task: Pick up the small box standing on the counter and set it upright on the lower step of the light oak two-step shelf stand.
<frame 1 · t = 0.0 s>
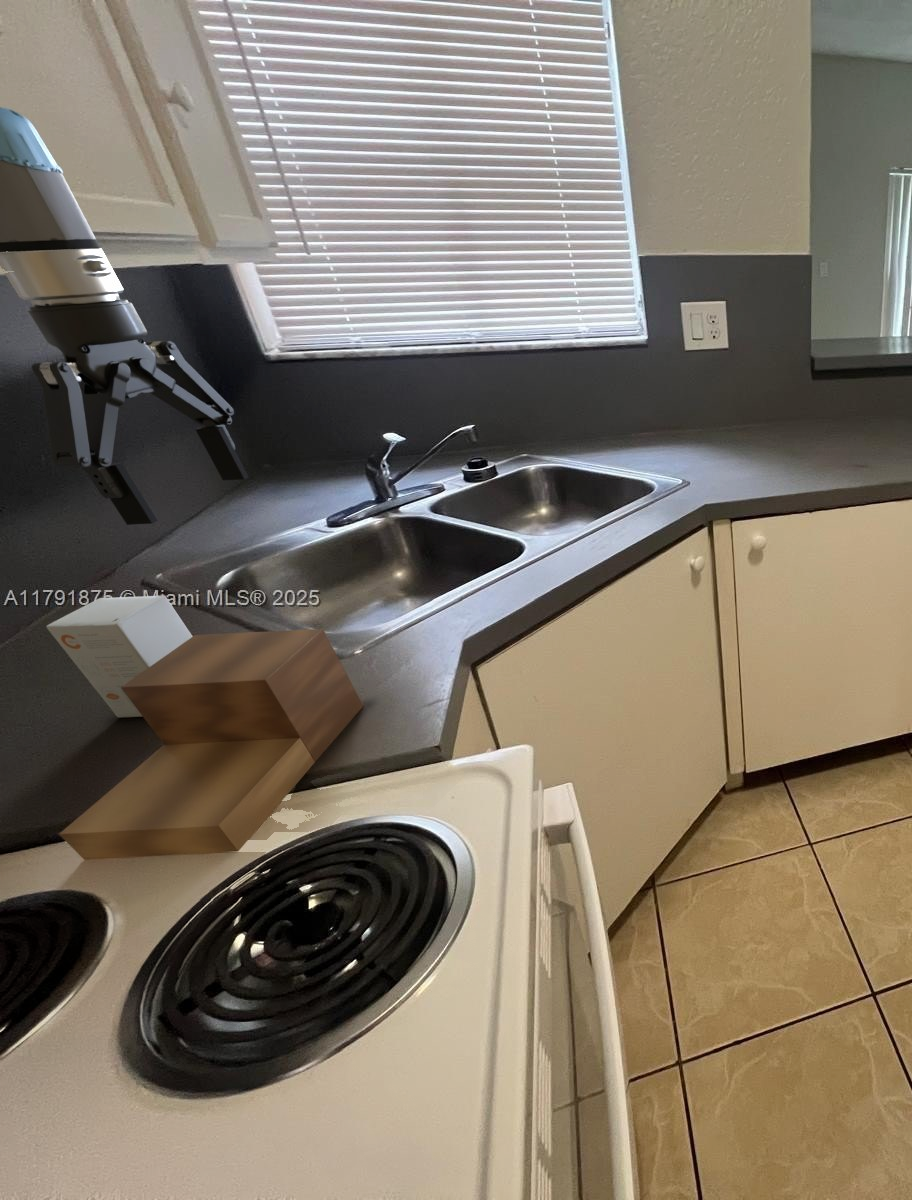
hand: (193, 499, 74), 22 cm above the worktop, tool pointing down, fingers open, 13 cm apart
shelf stand: (242, 772, 65), on the worktop
small box: (173, 701, 76), on the worktop
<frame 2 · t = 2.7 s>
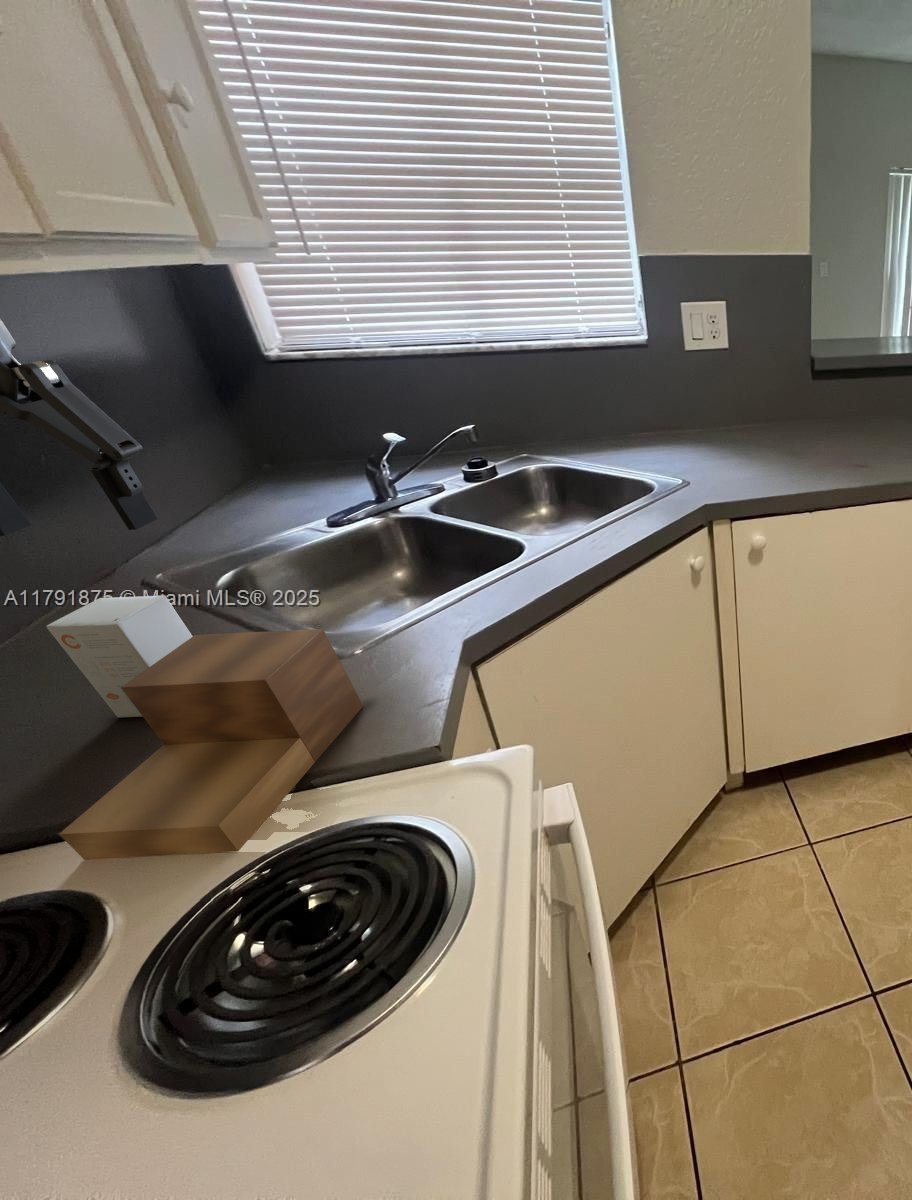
hand: (79, 527, 66), 22 cm above the worktop, tool pointing down, fingers open, 13 cm apart
nothing on the worktop moved.
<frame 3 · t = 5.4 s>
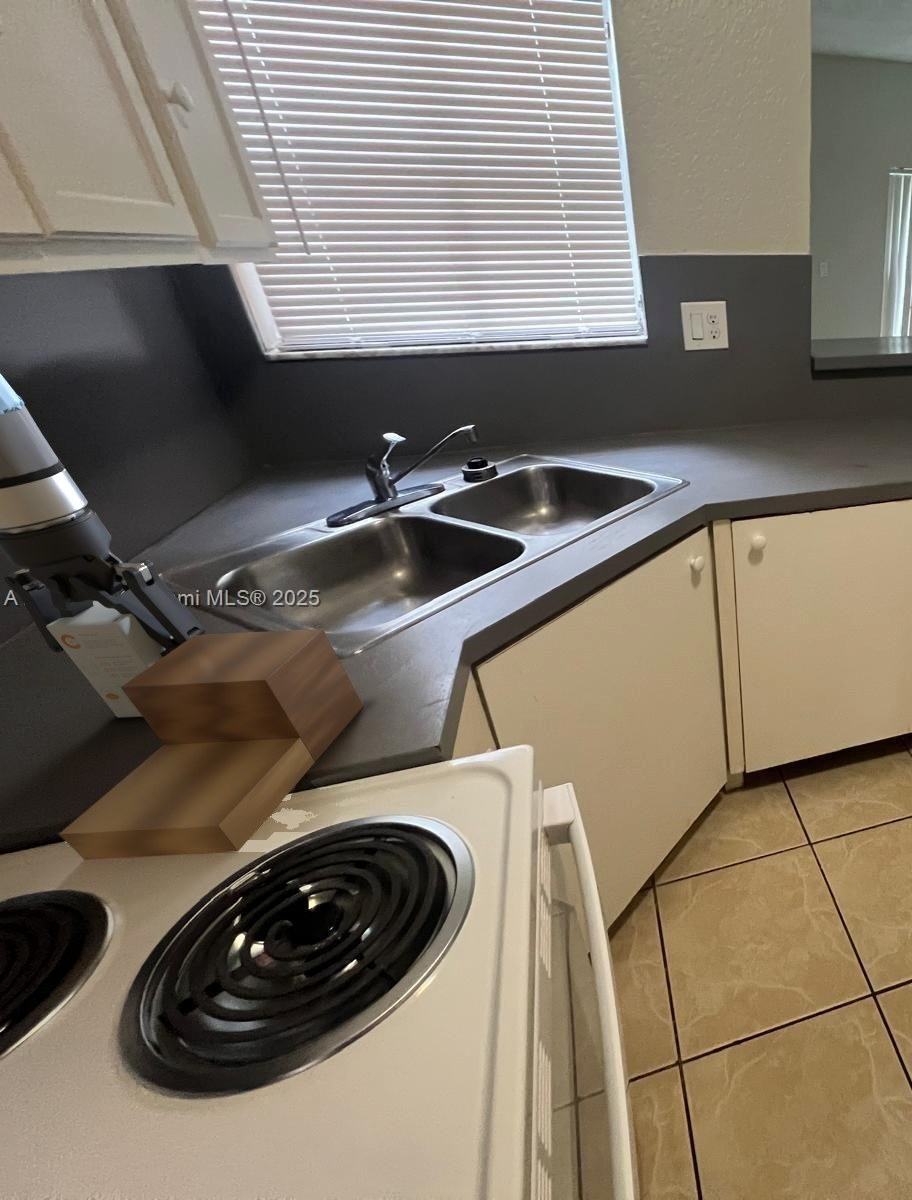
hand: (166, 692, 76), 1 cm above the worktop, tool pointing down, fingers closed on small box, 8 cm apart
small box: (173, 701, 76), on the worktop, touching gripper
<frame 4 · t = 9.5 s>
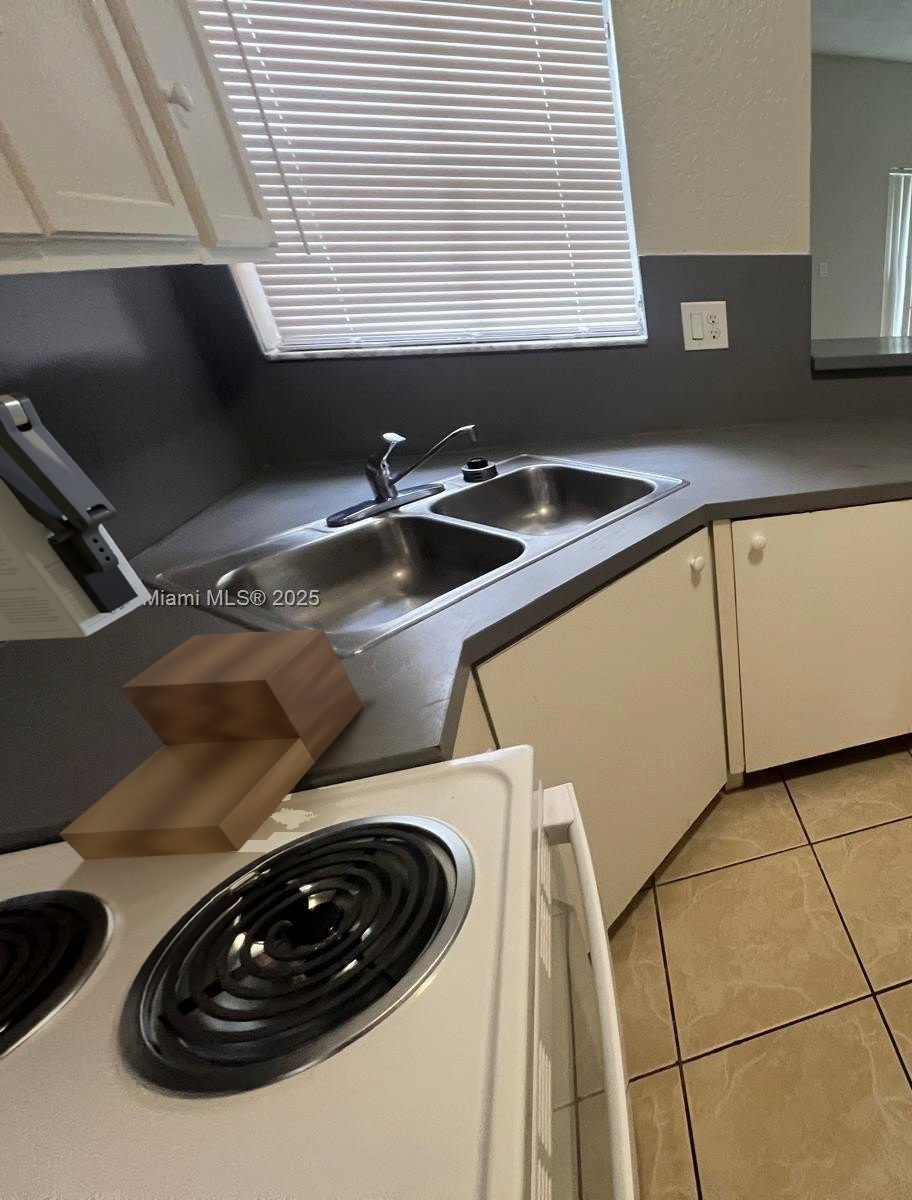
hand: (66, 607, 53), 22 cm above the worktop, tool pointing down, fingers closed on small box, 8 cm apart
small box: (78, 621, 53), point 20 cm above the worktop, touching gripper
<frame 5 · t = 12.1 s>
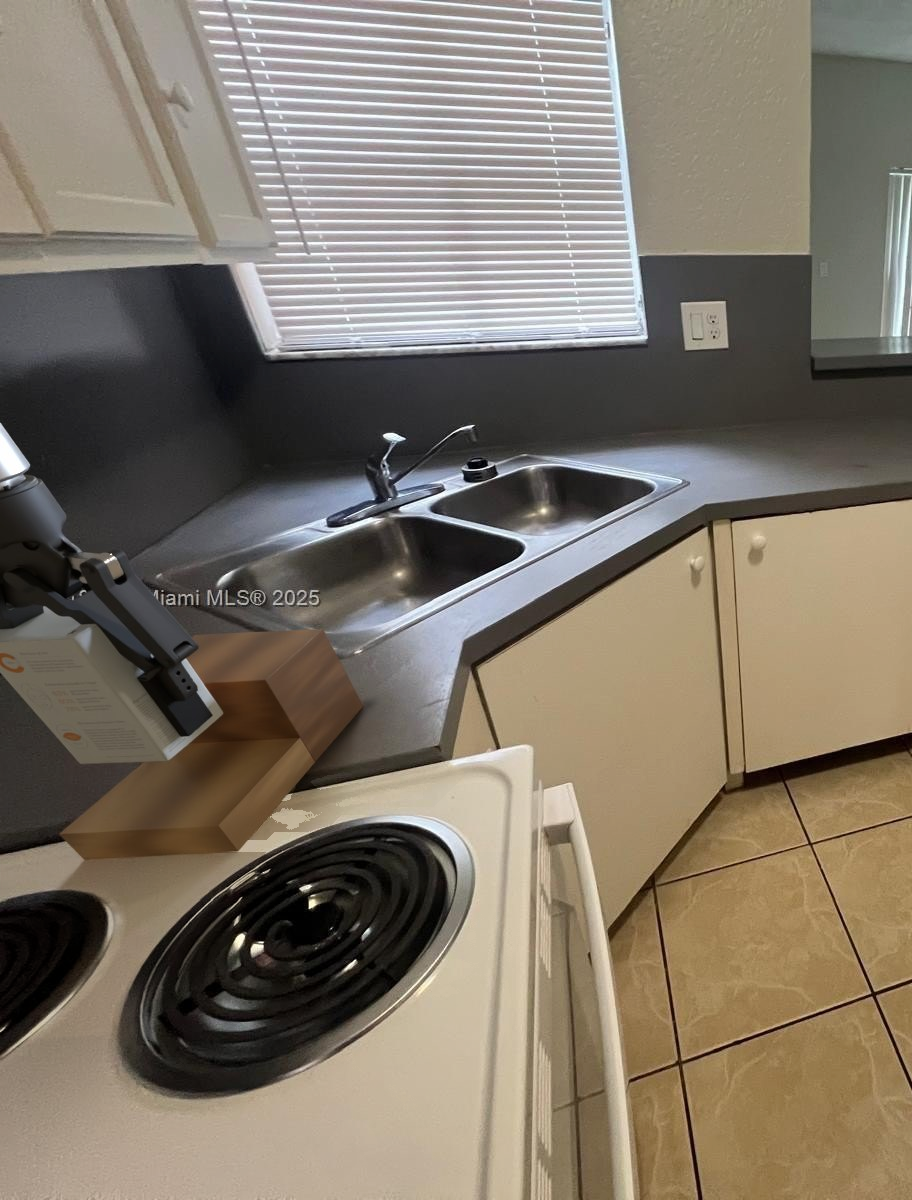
hand: (147, 728, 56), 10 cm above the worktop, tool pointing down, fingers closed on small box, 8 cm apart
small box: (157, 740, 57), point 9 cm above the worktop, touching gripper
when the fingers open (5 cm above the worktop, at t = 13.9 s): small box stays where it is, resting on shelf stand.
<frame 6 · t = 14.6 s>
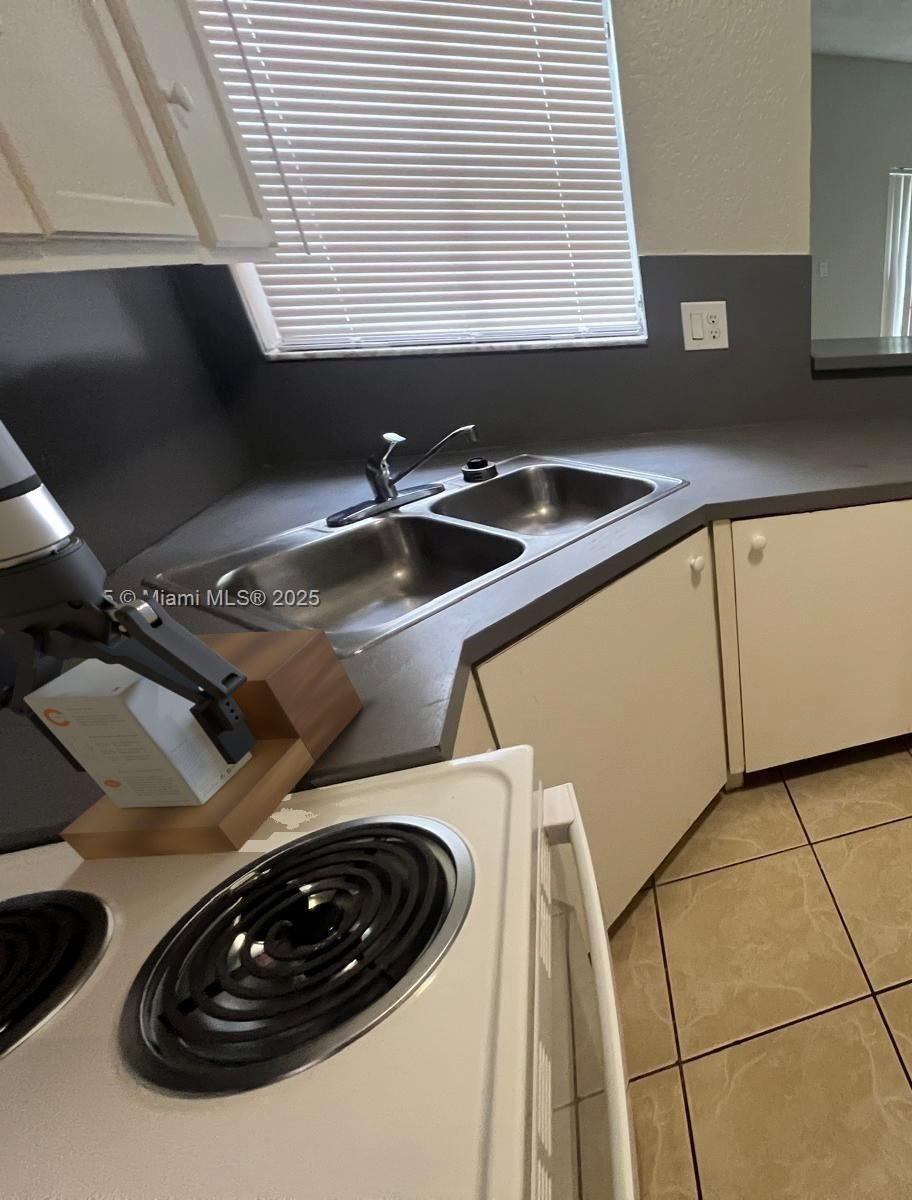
hand: (169, 757, 58), 7 cm above the worktop, tool pointing down, fingers open, 13 cm apart
small box: (190, 783, 60), point 3 cm above the worktop, touching shelf stand
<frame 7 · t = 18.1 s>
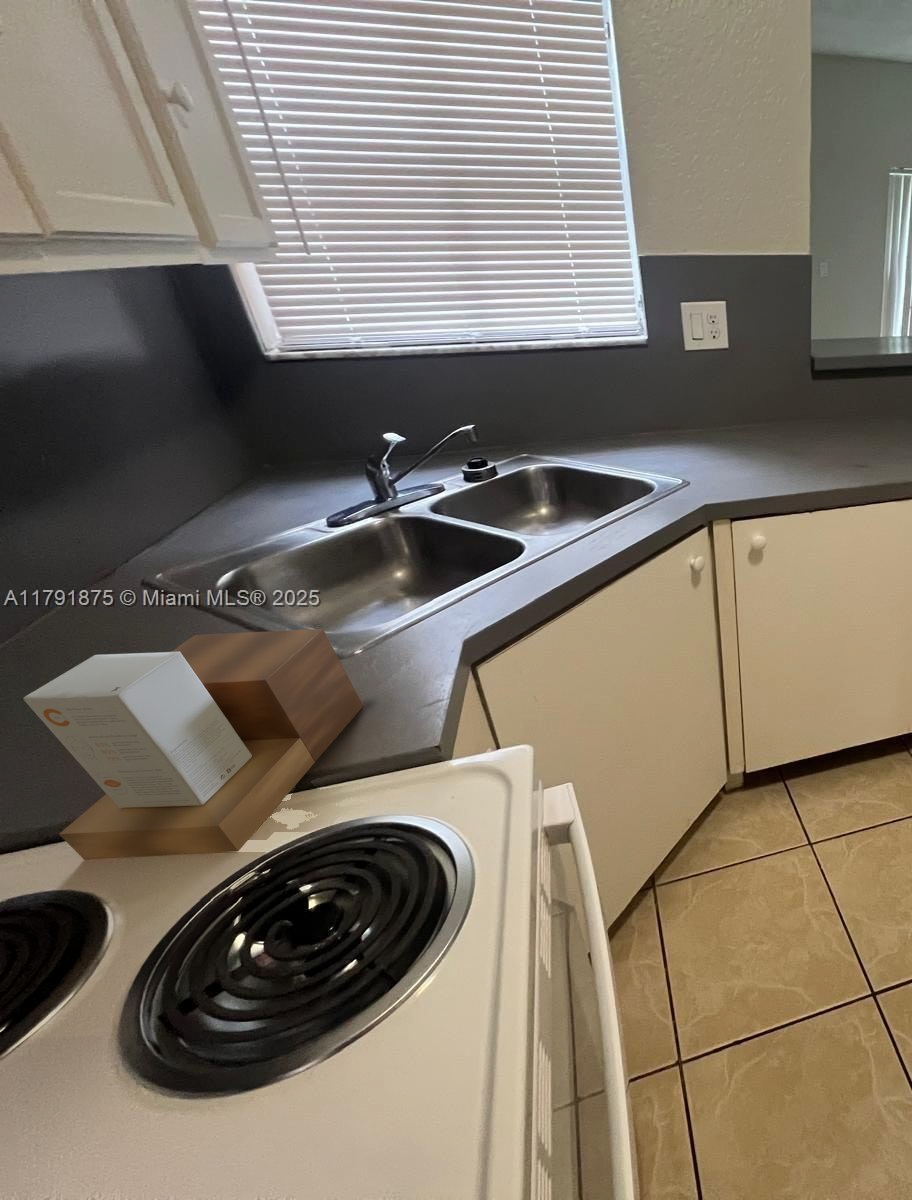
nothing on the worktop moved.
at the end: small box inside the target area on the shelf stand (0.0 cm from its centre), point 3.3 cm above the shelf stand's base; small box tilted 0°; the gripper is holding nothing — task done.
